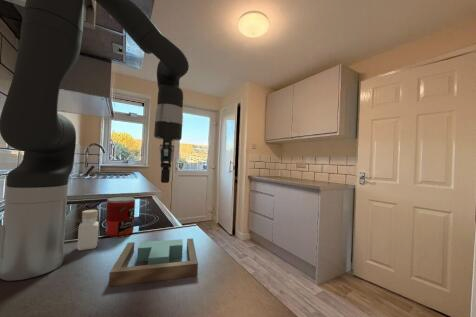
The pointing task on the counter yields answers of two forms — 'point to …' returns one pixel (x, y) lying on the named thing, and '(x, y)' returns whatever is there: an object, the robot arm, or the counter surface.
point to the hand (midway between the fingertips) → (164, 182)
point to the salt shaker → (88, 230)
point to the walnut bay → (152, 268)
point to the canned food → (120, 216)
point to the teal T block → (159, 251)
